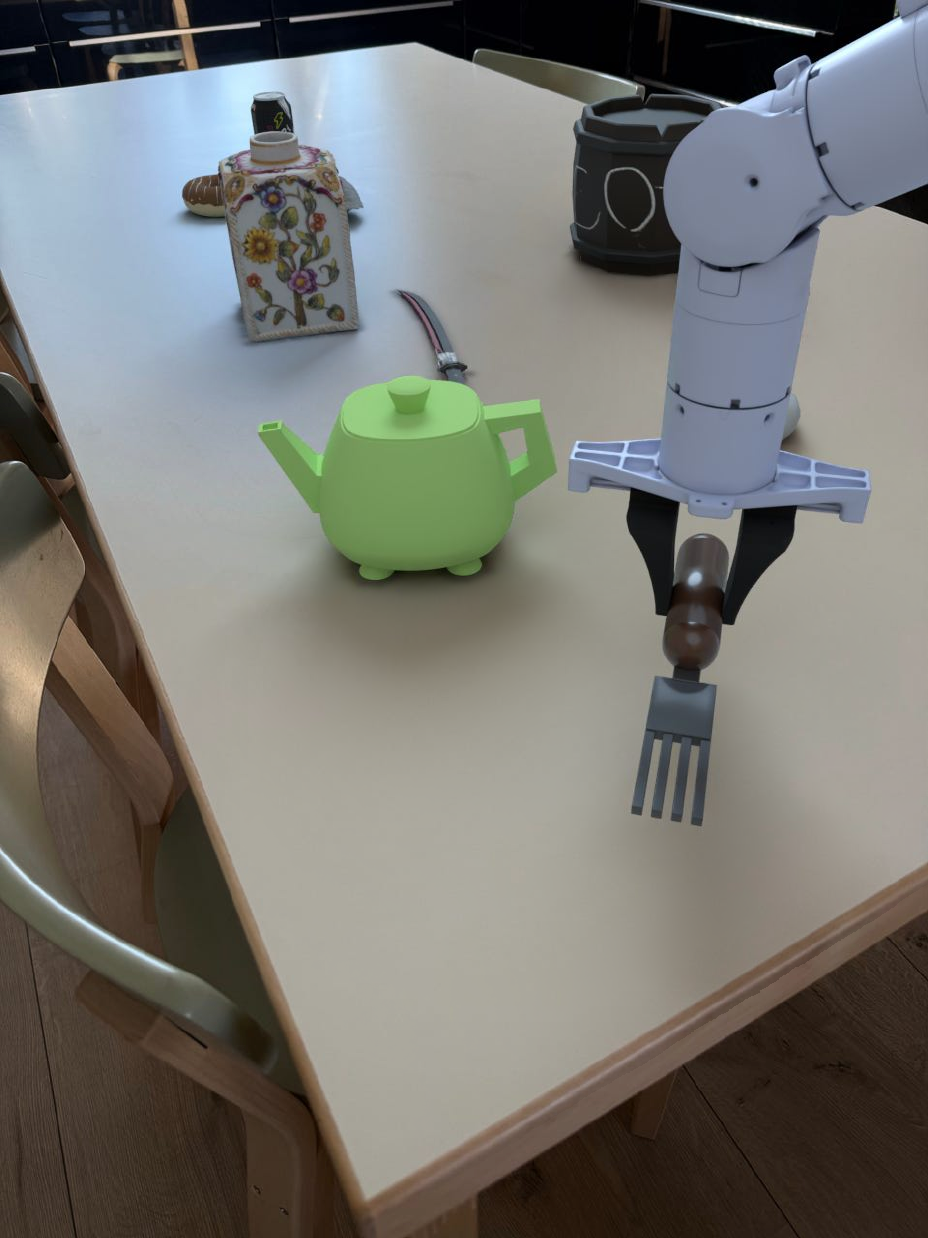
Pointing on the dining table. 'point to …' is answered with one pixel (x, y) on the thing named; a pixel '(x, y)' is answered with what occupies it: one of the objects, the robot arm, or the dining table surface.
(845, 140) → the robot arm
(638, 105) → the wooden barrel
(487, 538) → the teapot
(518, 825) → the dining table surface
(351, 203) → the seashell
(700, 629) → the fork
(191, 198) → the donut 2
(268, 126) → the beverage can
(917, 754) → the dining table surface
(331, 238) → the decorative jar
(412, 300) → the sword
